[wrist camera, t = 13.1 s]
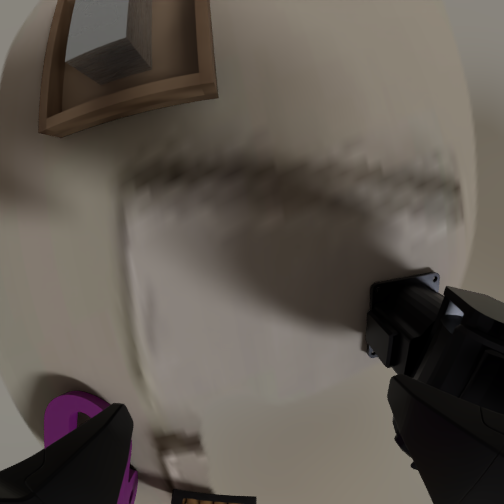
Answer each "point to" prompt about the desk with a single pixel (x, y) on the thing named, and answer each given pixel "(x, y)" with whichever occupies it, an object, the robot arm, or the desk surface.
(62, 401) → the mounting bracket
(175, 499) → the ammunition clip
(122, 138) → the desk surface
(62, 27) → the walnut tray
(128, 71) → the aluminium block
